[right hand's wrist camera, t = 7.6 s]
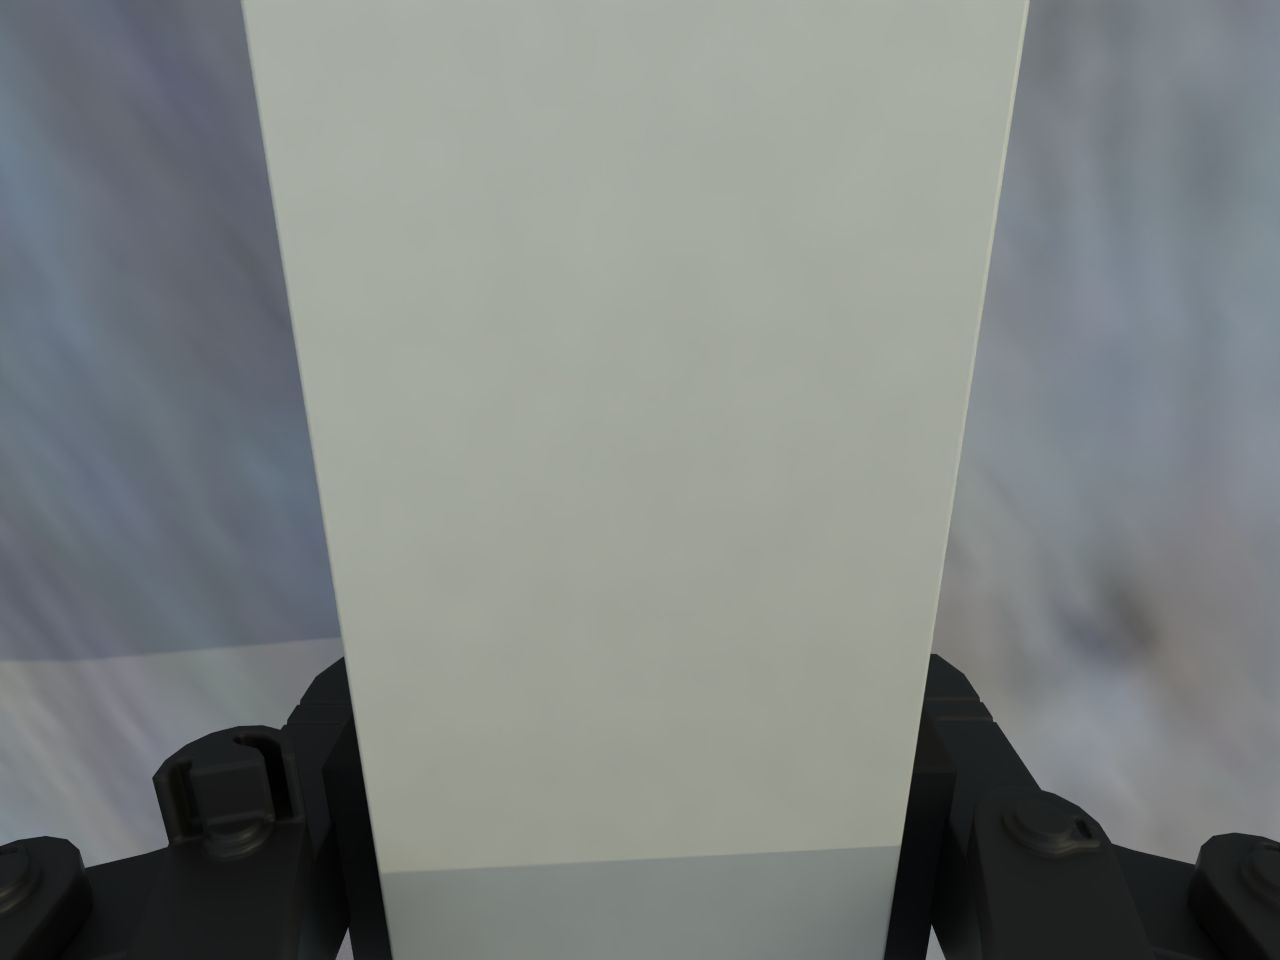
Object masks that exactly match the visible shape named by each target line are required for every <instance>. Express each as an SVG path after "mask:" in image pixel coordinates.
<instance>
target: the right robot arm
mask: <svg viewBox="0 0 1280 960" xmlns="http://www.w3.org/2000/svg"><path fill="white" fill-rule="evenodd" d="M152 779H153V783H154V787H155V791H156V794H157V798H158V802H159V806H160V810H161V813H162V817H163V821H164V825H165V829H166V833H167V836H168V840H169V845H168V847H166V848H163V849H160V850H156V851H153V852H150V853H147V854H143V855H138V856H134V857H130V858H126V859H121V860H117V861H113V862H109V863H105V864H100V865H96V866H92V867H88V868H85V867H84V864H83V860H82V857H81V854H80V851H79V849H78V848H76V847H75V846H74V845H73V844H72V843H71V842H70V841H68V840H67V839H61V838H55V837H49V836H43V837H36V838H29V839H22V840H17V841H14V842H11V843H8V844H5V845H3V846H0V960H335V959H336V957H337V954H338V952H339V949H340V946H341V944H342V941H343V939H344V936H345V934H346V931H347V929H348V928H349V933H350V939H351V945H352V951H353V957H354V960H392V954H391V948H390V941H389V935H388V929H387V922H386V916H385V910H384V904H383V897H382V891H381V885H380V878H379V872H378V866H377V859H376V853H375V847H374V840H373V834H372V828H371V822H370V815H369V809H368V803H367V796H366V790H365V784H364V777H363V771H362V765H361V759H360V752H359V746H358V740H357V733H356V727H355V721H354V714H353V708H352V702H351V695H350V689H349V683H348V677H347V670H346V664H345V658H344V656H343V657H342V658H341V659H339V660H338V661H337V662H335V663H334V664H333V665H331V666H330V667H328V668H327V669H326V670H324V671H323V672H322V673H320V674H319V675H318V676H316V677H315V679H314V680H313V682H312V683H311V685H310V686H309V688H308V690H307V691H306V693H305V694H304V696H303V697H302V699H301V700H300V705H297V706H296V708H295V709H294V711H293V712H292V714H291V715H290V717H289V718H288V720H287V725H284V726H283V727H282V729H281V730H279V729H275V728H271V727H267V726H263V725H257V726H237V727H233V728H229V729H225V730H221V731H217V732H213V733H210V734H208V735H206V736H204V737H202V738H200V739H198V740H195V741H193V742H191V743H189V744H187V745H185V746H184V747H183V748H181V749H180V750H178V751H177V752H176V753H174V754H173V755H172V756H170V757H169V758H168V759H166V760H165V761H164V763H163V764H162V765H161V767H160V768H159V769H158V771H157V772H156V773H155V775H154V776H153V778H152ZM931 924H932V926H933V929H934V931H935V934H936V936H937V939H938V941H939V944H940V946H941V949H942V951H943V954H944V956H945V959H946V960H1280V843H1279V842H1276V841H1274V840H1271V839H1268V838H1265V837H1262V836H1255V835H1248V834H1241V833H1229V834H1223V835H1216V836H1213V837H1211V838H1210V839H1209V840H1208V841H1207V842H1206V843H1205V844H1203V845H1202V846H1201V849H1200V852H1199V855H1198V858H1197V861H1196V865H1194V864H1190V863H1185V862H1181V861H1177V860H1173V859H1168V858H1164V857H1160V856H1156V855H1151V854H1147V853H1143V852H1139V851H1134V850H1131V849H1128V848H1125V847H1121V846H1118V845H1115V844H1112V843H1111V841H1110V840H1109V838H1108V837H1107V835H1106V834H1105V832H1104V830H1103V829H1102V827H1101V826H1100V824H1099V823H1098V822H1097V821H1096V820H1094V819H1093V818H1092V817H1091V816H1090V815H1088V814H1087V813H1086V812H1085V811H1084V810H1083V809H1081V808H1080V807H1079V806H1077V805H1075V804H1073V803H1071V802H1069V801H1067V800H1066V799H1064V798H1062V797H1060V796H1058V795H1056V794H1054V793H1050V792H1046V791H1043V790H1041V789H1040V787H1039V786H1038V784H1037V783H1036V781H1035V780H1034V778H1033V777H1032V775H1031V774H1030V772H1029V771H1028V769H1027V768H1026V766H1025V765H1024V763H1023V762H1022V760H1021V759H1020V757H1019V756H1018V754H1017V753H1016V751H1015V750H1014V748H1013V747H1012V745H1011V744H1010V742H1009V741H1008V739H1007V738H1006V736H1005V735H1004V733H1003V732H1002V730H1001V729H1000V727H999V726H998V724H997V723H996V722H993V717H992V715H991V714H990V712H989V711H988V709H987V708H986V706H985V705H984V703H983V702H980V697H979V696H978V694H977V693H976V691H975V690H974V688H973V687H972V685H971V684H970V682H969V681H968V679H967V678H966V677H965V675H964V674H963V673H962V672H960V671H959V670H958V669H956V668H955V667H953V666H952V665H951V664H949V663H948V662H947V661H945V660H944V659H943V658H941V657H940V656H938V655H937V654H930V659H929V666H928V672H927V679H926V685H925V692H924V698H923V705H922V712H921V718H920V725H919V731H918V738H917V744H916V751H915V758H914V764H913V771H912V777H911V784H910V790H909V797H908V803H907V810H906V817H905V823H904V830H903V836H902V843H901V849H900V856H899V863H898V869H897V876H896V882H895V889H894V895H893V902H892V908H891V915H890V922H889V928H888V935H887V941H886V948H885V954H884V960H926V954H927V948H928V942H929V936H930V930H931Z"/></svg>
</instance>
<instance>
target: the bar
mask: <svg viewBox="0 0 1280 960" xmlns="http://www.w3.org/2000/svg"><path fill="white" fill-rule="evenodd" d="M240 2H241V8H242V14H243V21H244V27H245V33H246V40H247V46H248V52H249V59H250V65H251V71H252V78H253V84H254V90H255V96H256V103H257V109H258V115H259V122H260V128H261V134H262V141H263V147H264V153H265V159H266V166H267V172H268V178H269V185H270V191H271V197H272V204H273V210H274V216H275V223H276V229H277V235H278V241H279V248H280V254H281V260H282V267H283V273H284V279H285V286H286V292H287V298H288V305H289V311H290V317H291V323H292V330H293V336H294V342H295V349H296V355H297V361H298V368H299V374H300V380H301V386H302V393H303V399H304V405H305V412H306V418H307V424H308V431H309V437H310V443H311V450H312V456H313V462H314V468H315V475H316V481H317V487H318V494H319V500H320V506H321V513H322V519H323V525H324V532H325V538H326V544H327V550H328V557H329V563H330V569H331V576H332V582H333V588H334V595H335V601H336V607H337V613H338V620H339V626H340V632H341V639H342V645H343V651H344V658H345V664H346V670H347V677H348V683H349V689H350V695H351V702H352V708H353V714H354V721H355V727H356V733H357V740H358V746H359V752H360V759H361V765H362V771H363V777H364V784H365V790H366V796H367V803H368V809H369V815H370V822H371V828H372V834H373V840H374V847H375V853H376V859H377V866H378V872H379V878H380V885H381V891H382V897H383V904H384V910H385V916H386V922H387V929H388V935H389V941H390V948H391V954H392V960H884V954H885V948H886V941H887V935H888V928H889V922H890V915H891V908H892V902H893V895H894V889H895V882H896V876H897V869H898V863H899V856H900V849H901V843H902V836H903V830H904V823H905V817H906V810H907V803H908V797H909V790H910V784H911V777H912V771H913V764H914V758H915V751H916V744H917V738H918V731H919V725H920V718H921V712H922V705H923V698H924V692H925V685H926V679H927V672H928V666H929V659H930V653H931V646H932V639H933V633H934V626H935V620H936V613H937V607H938V600H939V593H940V587H941V580H942V574H943V567H944V561H945V554H946V547H947V541H948V534H949V528H950V521H951V515H952V508H953V502H954V495H955V488H956V482H957V475H958V469H959V462H960V456H961V449H962V442H963V436H964V429H965V423H966V416H967V410H968V403H969V397H970V390H971V383H972V377H973V370H974V364H975V357H976V351H977V344H978V337H979V331H980V324H981V318H982V311H983V305H984V298H985V291H986V285H987V278H988V272H989V265H990V259H991V252H992V246H993V239H994V232H995V226H996V219H997V213H998V206H999V200H1000V193H1001V186H1002V180H1003V173H1004V167H1005V160H1006V154H1007V147H1008V141H1009V134H1010V127H1011V121H1012V114H1013V108H1014V101H1015V95H1016V88H1017V81H1018V75H1019V68H1020V62H1021V55H1022V49H1023V42H1024V35H1025V29H1026V22H1027V16H1028V9H1029V3H1030V0H240Z"/></svg>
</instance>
